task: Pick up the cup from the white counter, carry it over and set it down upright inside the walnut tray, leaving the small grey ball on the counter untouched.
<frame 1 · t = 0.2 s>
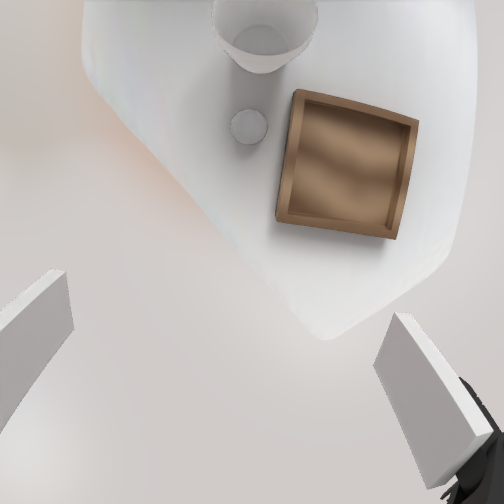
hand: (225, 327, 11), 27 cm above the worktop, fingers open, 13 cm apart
tray: (345, 164, 36), on the worktop
ball: (248, 127, 34), on the worktop
cup: (260, 49, 31), on the worktop
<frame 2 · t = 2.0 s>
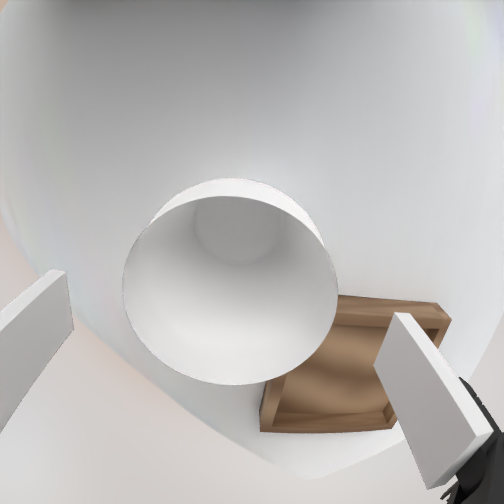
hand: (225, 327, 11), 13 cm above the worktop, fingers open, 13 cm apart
tray: (346, 364, 28), on the worktop
cup: (238, 221, 24), on the worktop
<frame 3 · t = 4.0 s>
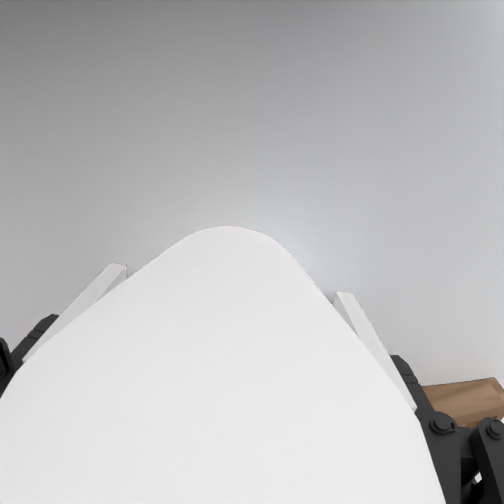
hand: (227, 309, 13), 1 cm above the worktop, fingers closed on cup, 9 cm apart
tray: (375, 455, 18), on the worktop
cup: (228, 296, 14), on the worktop, touching gripper
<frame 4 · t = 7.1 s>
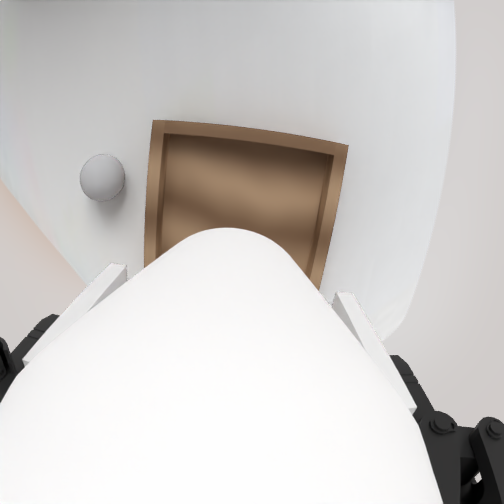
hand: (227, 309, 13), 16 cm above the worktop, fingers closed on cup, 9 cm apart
tray: (239, 215, 27), on the worktop
ball: (111, 174, 26), on the worktop
cup: (228, 298, 14), point 15 cm above the worktop, touching gripper
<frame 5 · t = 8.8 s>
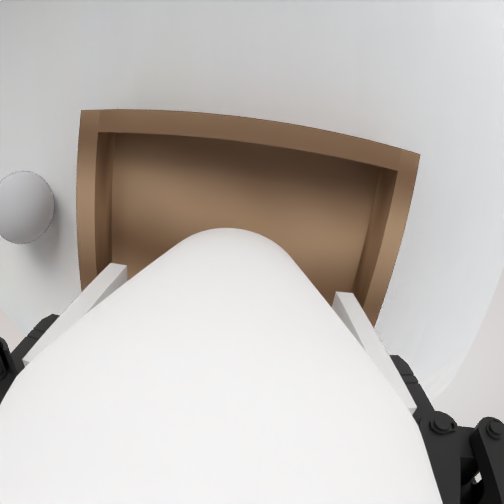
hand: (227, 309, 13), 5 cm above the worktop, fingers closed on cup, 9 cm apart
tray: (232, 264, 17), on the worktop
ball: (41, 199, 16), on the worktop
cup: (228, 298, 14), point 4 cm above the worktop, touching gripper
when the fingers open (3 cm above the worktop, at t = 10.1 s): cup drops 1 cm, resting on tray.
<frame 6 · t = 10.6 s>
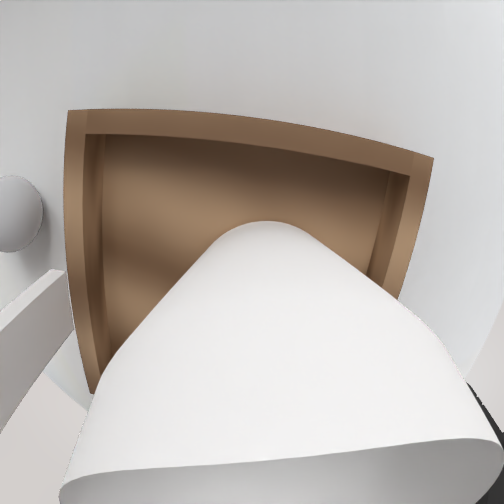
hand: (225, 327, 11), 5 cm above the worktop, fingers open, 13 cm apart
tray: (231, 275, 16), on the worktop
ball: (30, 205, 14), on the worktop
cup: (265, 285, 15), point 1 cm above the worktop, touching tray
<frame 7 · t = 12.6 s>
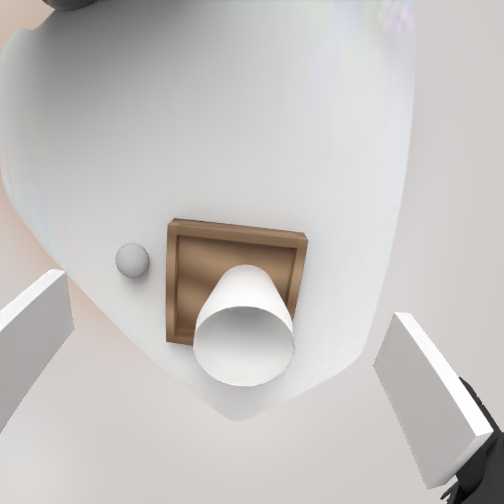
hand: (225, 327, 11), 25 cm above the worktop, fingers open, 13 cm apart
tray: (232, 285, 38), on the worktop
ball: (137, 254, 37), on the worktop
cup: (245, 289, 38), point 1 cm above the worktop, touching tray
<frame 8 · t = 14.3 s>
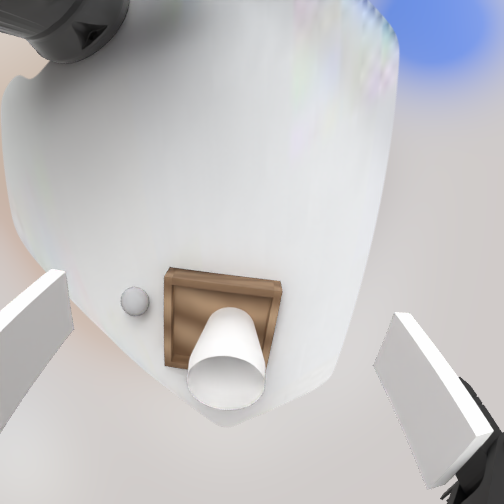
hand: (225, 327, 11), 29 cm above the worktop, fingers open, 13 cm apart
tray: (219, 321, 45), on the worktop
ball: (139, 294, 43), on the worktop
cup: (230, 325, 44), point 1 cm above the worktop, touching tray
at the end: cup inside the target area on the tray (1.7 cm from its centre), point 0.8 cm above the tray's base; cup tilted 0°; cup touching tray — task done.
